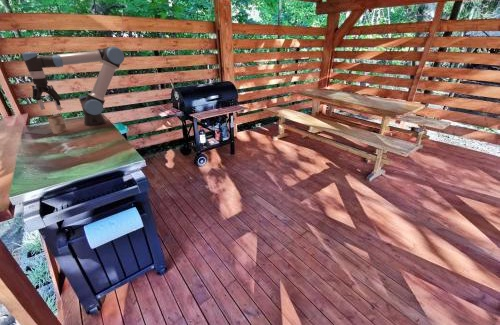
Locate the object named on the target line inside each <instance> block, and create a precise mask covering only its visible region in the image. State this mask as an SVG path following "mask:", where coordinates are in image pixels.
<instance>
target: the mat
mask: <svg viewBox="0 0 500 325" xmlns="http://www.w3.org/2000/svg"><path fill="white" fill-rule="evenodd" d="M24 134H29V135H41V136H42V135H43V136H47V135H52V134H54V133H53V132H52V129H51V128H50V129H49V128H36V129H32V130H28V131H25V132H24Z"/></svg>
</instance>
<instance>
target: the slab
mask: <svg viewBox="0 0 500 325" xmlns="http://www.w3.org/2000/svg"><path fill="white" fill-rule="evenodd" d="M46 119H47V121H48V124H49V126H50V129H51V130H52V132H53V133H52V134H54V135H55V134H56V135H58V134H61V133H64V132H67V131H68V129H67V126H66V123H65V121H64V117H63V115H62V114H55V115H51V116H47V117H46Z"/></svg>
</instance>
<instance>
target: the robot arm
mask: <svg viewBox="0 0 500 325" xmlns="http://www.w3.org/2000/svg"><path fill="white" fill-rule="evenodd" d="M21 55H22V59H23V61H24V63H25V66H26V68H27V70H28V72H29V75H30V78H32V79H31V81H32V82H33V85H31V88H32V99H33V100H35V101H36V102H37V105H38V106H39V108H40V111H44V110H46V108H45V107H46V106H45V104H44V103H43V102H44V101H43V99H42V95H43V93H46V94H47V95H48V96H50V97H51V99H53V100H54V101H53V102H54V104H55V107H56V109H57V111H61V110H63V109H62V105H61V102H60V100H62V97H61V96H60V94H58V92H57V91H56V90H55V88H54V85H50V84H49V83H48V82H49V81H48V79H47V76H46V74H45V71H44V69H45V68H47V69H49V68H63V67H64V66H68V65H69V66H70V65H78V64H79V65H80V64H88V63H90V64H91V63H97V62H100V63H101V64H102V65H101V69H100V70H99V73H98V75H97V78H96V80H95V83H94V85H93V87H92V90H91V92H89V93H87V95H80V96H79V98H78V99H79V103H80V105H81V108H82V112H83V115H84V117H83V118H84V121H83V123H84V126H89V127H93V126H99V125H103V124H106V123H107V122H106V119H105V117H104V116H103V115H102V112H104V111H103V110H104V105H105V102H106V100H105V96H106V94H107V91H108V88H109V86H110V84H111V82H112V80H113V76H114V74H115V73H116V72H115V71H116V70H118V69H119V68H120V66H121V64H122V63H123V62H124V61H125V54H124V52H123V50H121V49H120V48H119V47H116V46H107V47H104V48H103V47H102V48H97V49H95V50H91V51H79V52H78V51H77V52H68V53H57V54H45V55H40V54H39V55H38V54H37V52H35V51H34V52H33V51H32V52H23V53H22V54H21ZM48 84H49V85H48Z"/></svg>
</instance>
